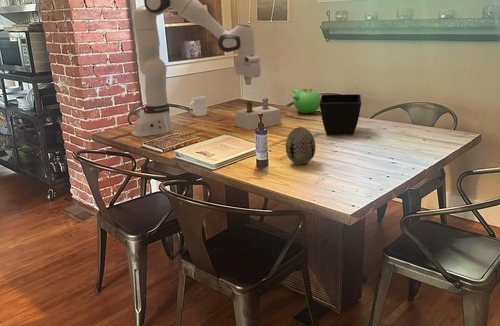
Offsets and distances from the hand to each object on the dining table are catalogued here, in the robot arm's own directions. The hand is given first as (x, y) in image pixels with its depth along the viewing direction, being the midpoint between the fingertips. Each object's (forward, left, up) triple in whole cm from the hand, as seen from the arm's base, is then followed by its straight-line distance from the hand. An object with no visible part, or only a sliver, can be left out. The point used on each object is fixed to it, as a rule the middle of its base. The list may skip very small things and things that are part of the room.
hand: (248, 84), depth 238 cm
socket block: (+5, 0, -22) cm, 23 cm away
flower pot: (+27, -41, -23) cm, 54 cm away
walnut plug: (0, 0, -18) cm, 18 cm away
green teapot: (+41, +5, -23) cm, 47 cm away
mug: (-10, +46, -23) cm, 52 cm away
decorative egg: (-16, -67, -23) cm, 72 cm away
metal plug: (+10, 0, -18) cm, 21 cm away
